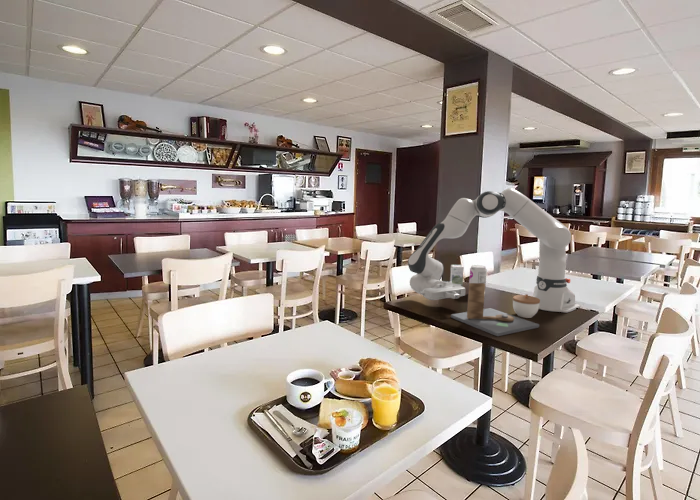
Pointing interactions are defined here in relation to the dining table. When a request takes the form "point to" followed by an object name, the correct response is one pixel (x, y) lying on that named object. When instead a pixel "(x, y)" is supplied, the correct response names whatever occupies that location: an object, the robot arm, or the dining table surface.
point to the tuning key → (480, 304)
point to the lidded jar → (525, 305)
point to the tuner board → (496, 323)
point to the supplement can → (478, 274)
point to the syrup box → (456, 274)
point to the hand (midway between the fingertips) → (456, 296)
